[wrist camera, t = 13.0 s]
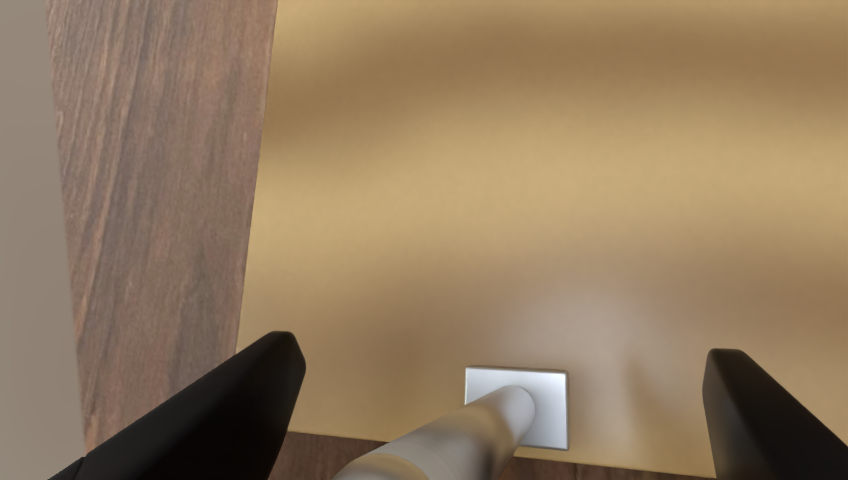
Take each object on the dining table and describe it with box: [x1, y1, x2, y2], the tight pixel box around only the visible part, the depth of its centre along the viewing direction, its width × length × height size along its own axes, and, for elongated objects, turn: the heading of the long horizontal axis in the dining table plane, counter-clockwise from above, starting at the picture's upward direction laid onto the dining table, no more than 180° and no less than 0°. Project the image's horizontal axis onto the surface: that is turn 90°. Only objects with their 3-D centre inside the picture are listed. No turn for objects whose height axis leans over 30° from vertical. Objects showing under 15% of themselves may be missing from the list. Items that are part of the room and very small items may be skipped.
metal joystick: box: [332, 365, 570, 480], centre depth 9 cm, size 3×2×11 cm
